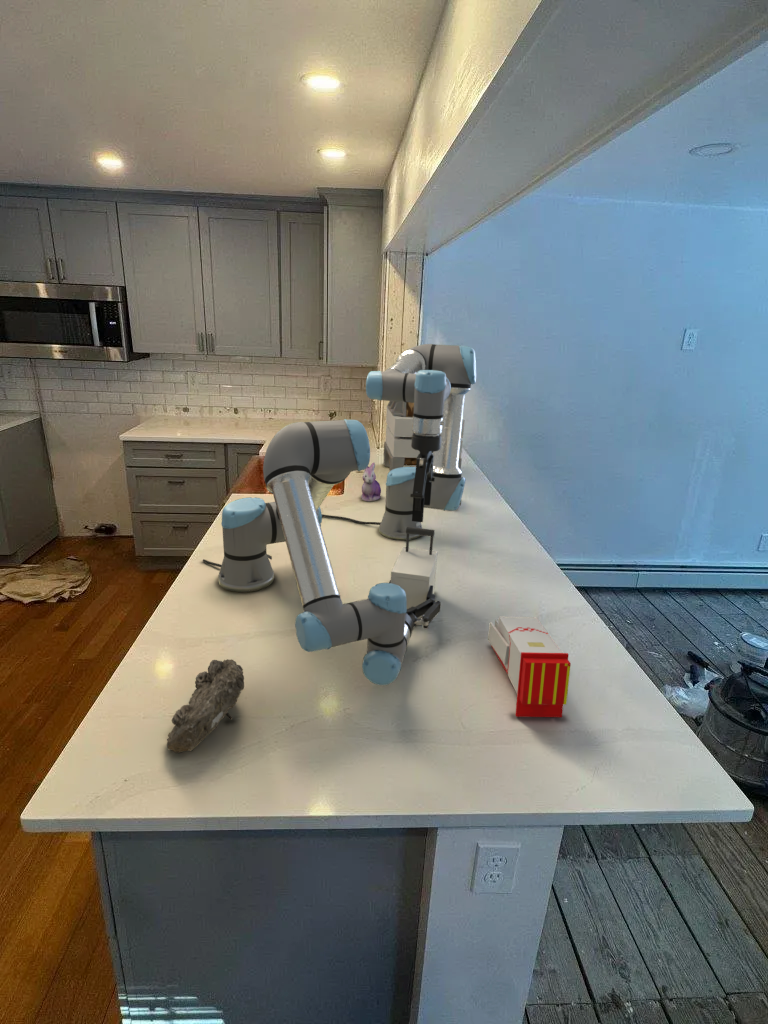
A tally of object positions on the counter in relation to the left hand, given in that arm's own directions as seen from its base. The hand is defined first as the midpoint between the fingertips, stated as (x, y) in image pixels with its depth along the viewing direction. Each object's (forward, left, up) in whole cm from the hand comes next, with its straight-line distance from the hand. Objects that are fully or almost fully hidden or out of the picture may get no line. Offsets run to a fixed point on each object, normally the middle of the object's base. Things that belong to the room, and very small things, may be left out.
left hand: (411, 587), depth 147 cm
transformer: (-18, +133, -7) cm, 134 cm away
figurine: (-32, +87, -7) cm, 93 cm away
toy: (+28, -21, -7) cm, 36 cm away
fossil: (-30, -50, -7) cm, 59 cm away
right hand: (0, +10, +17) cm, 20 cm away
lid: (0, +5, +4) cm, 6 cm away
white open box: (0, +4, -7) cm, 8 cm away
